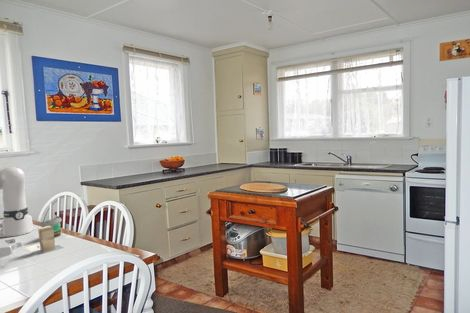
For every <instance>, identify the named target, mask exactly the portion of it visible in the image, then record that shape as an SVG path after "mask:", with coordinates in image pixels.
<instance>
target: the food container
mask: <svg viewBox="0 0 470 313" xmlns="http://www.w3.org/2000/svg"><path fill="white" fill-rule="evenodd" d="M62 221H63V220H62V218H61V216H59V215H56V216H55V218H51V219H48V220H46V221H41V222H40V226H41V227H45V226H51V227H53V231H54V239H55V238H58V237H60V236H61V230H62V228H61V222H62Z"/></svg>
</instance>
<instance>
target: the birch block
mask: <svg viewBox="0 0 470 313" xmlns="http://www.w3.org/2000/svg"><path fill="white" fill-rule="evenodd" d="M37 229H38V230H37V232H38V239H39V244H40V249H39V250H41V251H42V252H48V251H51V250H55V244H56V242H55V241H56V240H55V238H54V231H53V227H51V226H45V227H42V226H41V227H38V228H37ZM55 251H56V250H55ZM51 252H52V251H51ZM48 253H49V252H48Z"/></svg>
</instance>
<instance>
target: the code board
mask: <svg viewBox="0 0 470 313" xmlns="http://www.w3.org/2000/svg"><path fill="white" fill-rule="evenodd" d="M24 249H26V250H27V251H29V252H31V253H33V254H34V255H36V256H40V255H44V254H47V253H50V252H54V251H59V250H61V249H65V247H64V246H62V245H59V244H57V243H55V250H51V251H48V252H42V251H41V250H40V243H36V244H33V245H30V246H26V247H24Z"/></svg>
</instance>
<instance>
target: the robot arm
mask: <svg viewBox="0 0 470 313" xmlns="http://www.w3.org/2000/svg"><path fill="white" fill-rule="evenodd" d="M0 191H2V204H3V219H2V222H1V223H0V259H2V258H4V257H7V256H10V255H12V254H13V251H14V250H16V249H18V248H21V247H23V244H22V242H16V239H15V238H11V239H1V238H5V237H7V238H8V237H17V236H22V235H25V234H28V233H31V232H33V231H35V230H36V229H37V227H36V226H34V222H33V219H32V218H33V217H32V215H30V214H29V209H28V206H27V199H26V198H27V197H26V174H25V172H24V171H23V170H22V169H21V168H20V167H15V166H9V165H8V166H5V167H3V168H0Z"/></svg>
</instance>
